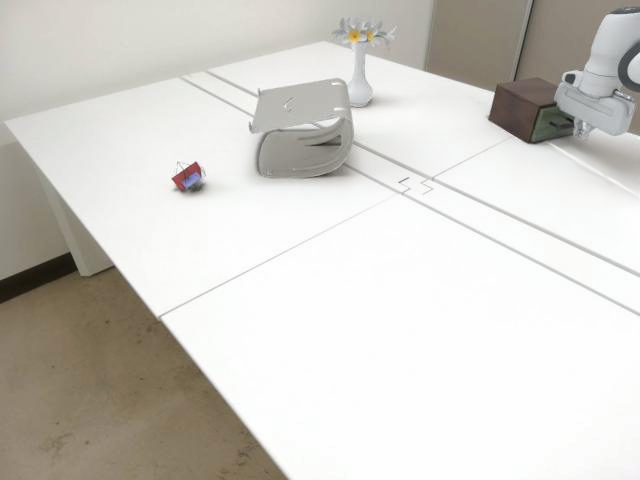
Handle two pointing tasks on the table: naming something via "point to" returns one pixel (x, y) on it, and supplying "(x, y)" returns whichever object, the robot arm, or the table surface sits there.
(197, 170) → the geometric puzzle
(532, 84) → the cabinet
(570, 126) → the drawer
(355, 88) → the flower vase
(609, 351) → the table surface
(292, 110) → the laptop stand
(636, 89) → the robot arm
